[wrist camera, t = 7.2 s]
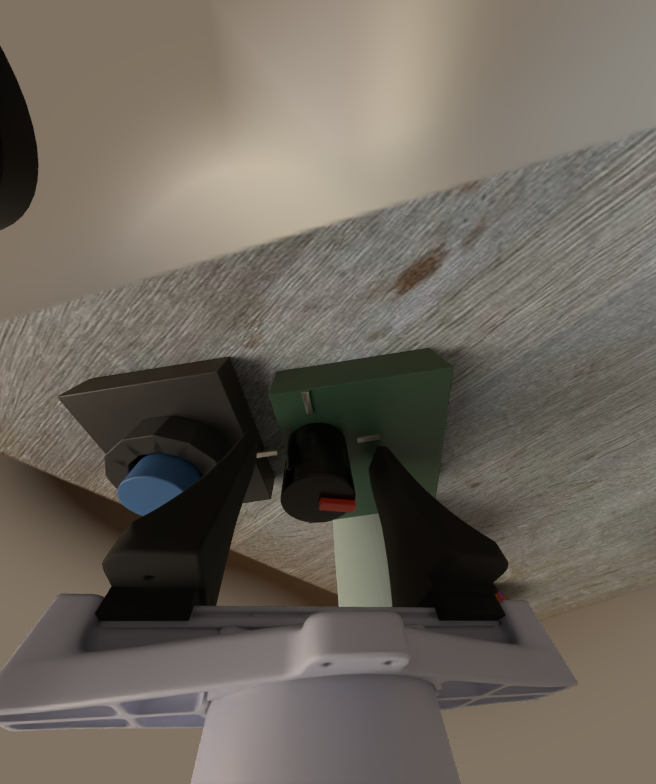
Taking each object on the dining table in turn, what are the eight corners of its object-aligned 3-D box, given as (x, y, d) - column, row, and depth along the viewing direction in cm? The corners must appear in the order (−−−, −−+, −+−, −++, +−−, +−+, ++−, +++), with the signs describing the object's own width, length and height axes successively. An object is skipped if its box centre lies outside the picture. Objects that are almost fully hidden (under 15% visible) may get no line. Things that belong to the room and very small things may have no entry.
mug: (314, 517, 23) (315, 673, 14) (397, 477, 21) (458, 632, 12) (381, 568, 29) (410, 699, 20) (451, 540, 27) (517, 675, 18)
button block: (89, 378, 15) (20, 416, 11) (229, 356, 14) (203, 387, 11) (172, 491, 20) (143, 540, 17) (275, 476, 20) (267, 522, 16)
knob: (284, 463, 15) (276, 526, 12) (292, 418, 13) (284, 476, 10) (338, 468, 16) (346, 530, 12) (352, 426, 14) (366, 484, 10)
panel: (247, 376, 15) (232, 402, 12) (429, 347, 15) (455, 367, 12) (288, 494, 21) (285, 529, 18) (419, 475, 21) (435, 507, 18)
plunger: (124, 457, 13) (101, 482, 12) (186, 447, 13) (170, 472, 12) (156, 496, 15) (139, 523, 14) (211, 488, 15) (200, 514, 14)
